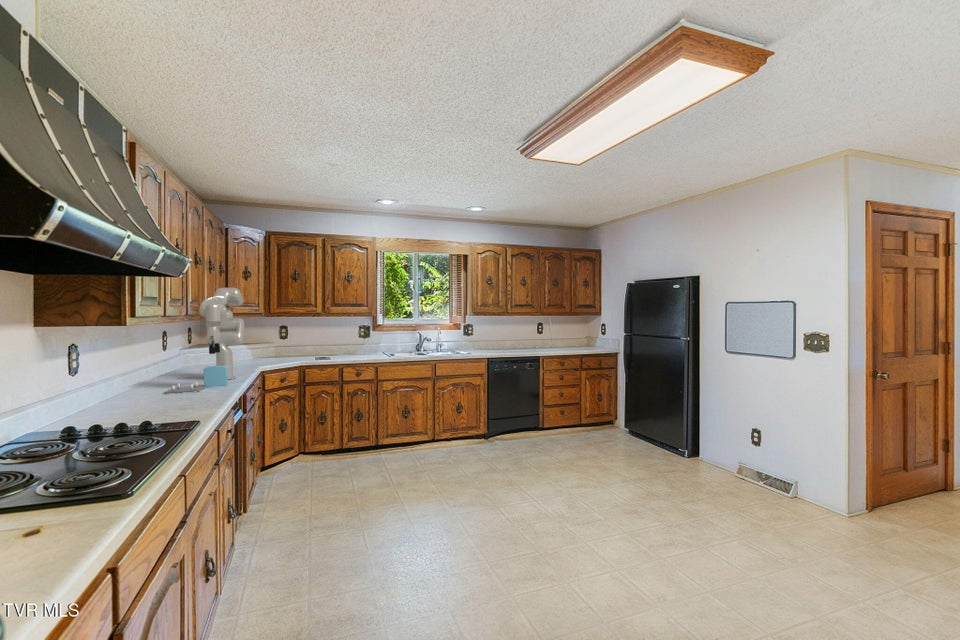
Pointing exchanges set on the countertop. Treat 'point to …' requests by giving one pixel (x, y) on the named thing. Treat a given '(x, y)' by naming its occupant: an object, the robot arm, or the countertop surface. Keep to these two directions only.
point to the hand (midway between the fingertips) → (214, 353)
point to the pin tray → (185, 388)
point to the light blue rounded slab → (215, 376)
